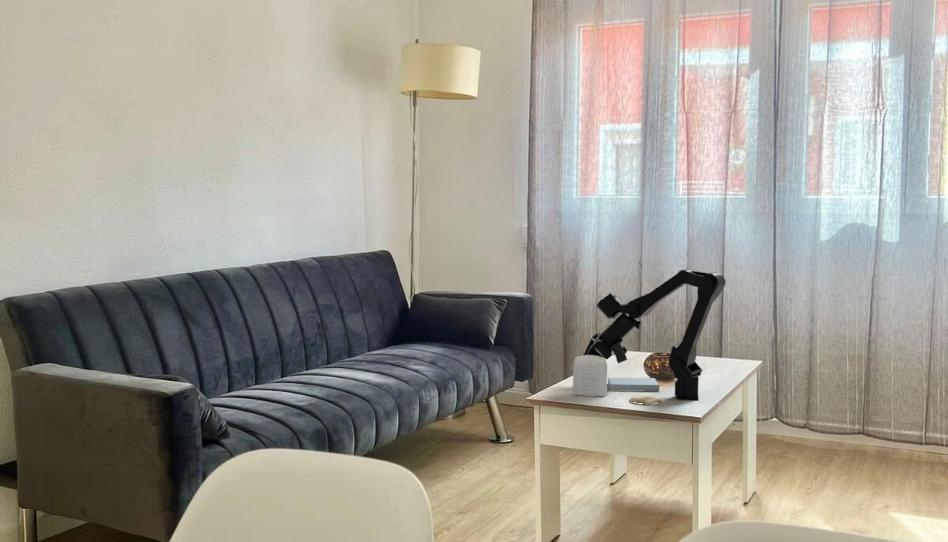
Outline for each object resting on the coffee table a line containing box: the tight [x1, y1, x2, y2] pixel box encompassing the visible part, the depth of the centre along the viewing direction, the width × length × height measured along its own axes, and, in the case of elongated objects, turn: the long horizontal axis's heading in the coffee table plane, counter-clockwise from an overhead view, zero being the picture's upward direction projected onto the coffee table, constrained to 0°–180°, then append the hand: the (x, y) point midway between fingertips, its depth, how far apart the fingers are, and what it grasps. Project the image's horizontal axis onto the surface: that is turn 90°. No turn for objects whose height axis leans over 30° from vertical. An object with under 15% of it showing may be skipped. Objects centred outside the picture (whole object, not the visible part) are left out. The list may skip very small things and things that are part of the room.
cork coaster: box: [629, 396, 662, 404], centre depth 273 cm, size 9×9×1 cm
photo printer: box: [572, 354, 608, 397], centre depth 281 cm, size 10×4×12 cm, turn 79°
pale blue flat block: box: [607, 376, 660, 392], centre depth 293 cm, size 15×11×2 cm
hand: (582, 363), depth 291 cm, fingers open, 9 cm apart
